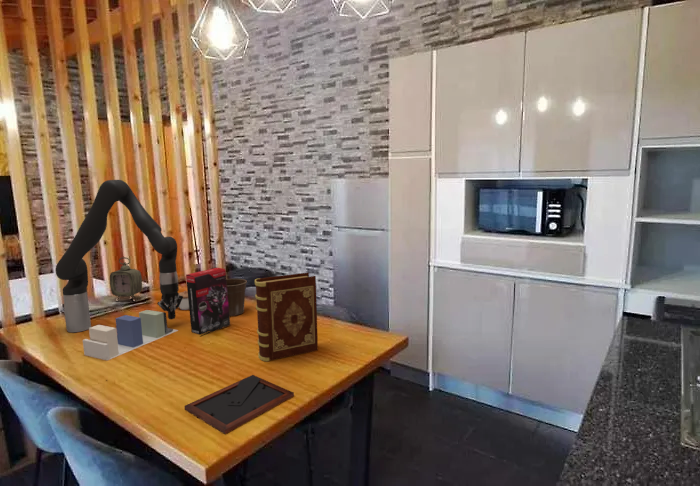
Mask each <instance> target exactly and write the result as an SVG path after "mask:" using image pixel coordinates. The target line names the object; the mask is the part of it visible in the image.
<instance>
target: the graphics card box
mask: <svg viewBox="0 0 700 486" xmlns="http://www.w3.org/2000/svg"><path fill="white" fill-rule="evenodd" d="M226 272H227V271H226V269H225V268H223V267H215V268H210V269H205V270H200V271H195V272H192V273H187V274H185V280H186V288H187V290H186V292H188V301H189V309H188V310H189V319H190V330H191V333H193V334H196V335H199V337H204V336H206V335H208V334H211V333H214V332H216V331H219V330H221V329H222V330H223V328H226V327H229V326H230V325H231V318H230V317H231V316H230V315H229V305H228V293H227V282H226V279H227V273H226Z"/></svg>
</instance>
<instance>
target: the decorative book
mask: <svg viewBox="0 0 700 486" xmlns="http://www.w3.org/2000/svg"><path fill="white" fill-rule="evenodd" d="M316 278H317V277H316V275H312V276H310V272H301V273H300V272H299V273H291V274H285V275H278V276H270V277H268V276H267V277H262V278H261V277H260V278H256V279H254V285H255V299H256V305H255V309H256V315H257V317H256V318H257V329H256V333H257V335H258V336H257V337H258V339H257V345H258V355H257V356H258V359H259V360H261V361H263V362H269V361H274V360H279V359H284V358H288V357H292V356H297V355H301V354H307V353H311V352H315V351H316V352H317V351H318V347H319V346H318V345H319V343H318V341H319V340H318V311H317V309H318V308H317V307H318V305H317V280H316Z"/></svg>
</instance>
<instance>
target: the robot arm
mask: <svg viewBox="0 0 700 486" xmlns="http://www.w3.org/2000/svg"><path fill="white" fill-rule="evenodd" d="M116 202H120V203H121V204H122V205H124V207H126V209H127V211H129V213H130V214H131V215H130V216H131V217H132V220H133V222H134V223H135V225H136V227H137V228H138V229H139V230H140V231H141V232H142V234H143V235H145V236H146V238H147V240H148V241H149V243H150V245H151V247H152V248H153V250H154V251H156V252H157V253H158V254H160V255H161V258H160V260H159V261H158V270H159V271H158V272H159V277H158V278H159V279H158V280H159V289H160V293H161V299H160V300H159V301H158V302H157V306H159V308H161V310H162V311H163V312H167V318H168V319H169V320H174V319H176V310H177V309H179V305H180V303H181V301H182V299H183V296H180V295H179V293H180V292H179V276H178V271H177V256H178V255H177V254H178V243H177V241H176V239H175V238H174V237H172V236H164V235H163V233H162V228H161V226H160V224H158V222H156V220H155V219H154V218H153V217H152V216H151V215H150V214H149V212H147V210H146V209H145V208H144V206H143V205H142V204H141V202H140V201H139V199H138V198H137V197H136V195H135V193H134V191H133V190H132V188H131V186H130V185H129V184H128V183H127V182H125V180H122V179H110V180H109V179H108V180H105V181H103V182H102V183H101V184H100V186H99V187H98V190H97V192H96V195H95V198H94V200H93V203H92V205H91V207H90V208H89V210H88V212H87V214H86V215H85V217H84V219H83V221H82V223H81V224H80V226H79V228H78V229H77V232H76V234H75V235H74V238H73V239H72V240H71V243H70V245H69V246H68V248H67V249H66V251H65V252H64V253H63V255H62V257H61V258H60V259H59V260H58V261H57V264H56V265H55V275H56V276H57V278H59V279H60V280H62V281H67V283H66V284H65V285H64V286H63V288H62V296H63V297H62V298H63V306H64V311H63V312H64V319H65V326H66V327H65V328H66V330H67V332H68V333H79V332H83V331H88V330H89V328H90V327H92V324H91V322H92V321H91V314H90V307H89V306H90V305H89V304H90V303H89V298H88V286H89V273H88V272H89V271H88V266H87V263H86V261H85V260H84V259H83V258H84V257H85V256H86V255H87V253H89V252H90V251H91V250H92V249H93V248H95V247H96V245H97V244H98V243H99V242H100V240H101V239H102V237H103V235H104V234H105V232H106V230H107V226H108V216H109V213H110V211H111V209H112V207H113V206H114V205H115V204H116ZM176 304H177V305H176Z"/></svg>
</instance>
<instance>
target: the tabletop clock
mask: <svg viewBox="0 0 700 486" xmlns="http://www.w3.org/2000/svg"><path fill="white" fill-rule="evenodd" d="M122 259H124V260H125V259H126V260H128V263H126V262H125V261H124V262H121V260H122ZM118 263H119V264H120V265H121V266H120V269H118V270H115V271H112V272H110V274H109V286H110V291H111V294H112V295H113V296H115V297H117V298H118V297H119V298H120V297H122V298H123V297H130V296H131V297H132V298H133V297H134V298H135V295H136V294H139V293H141V292H142V290H143V278H142V273H141V270H138V269H135V268H131V267H130V266H129V264H131V260H130V258H129V257H124V256H123V257H120V258H119V259H118Z"/></svg>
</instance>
